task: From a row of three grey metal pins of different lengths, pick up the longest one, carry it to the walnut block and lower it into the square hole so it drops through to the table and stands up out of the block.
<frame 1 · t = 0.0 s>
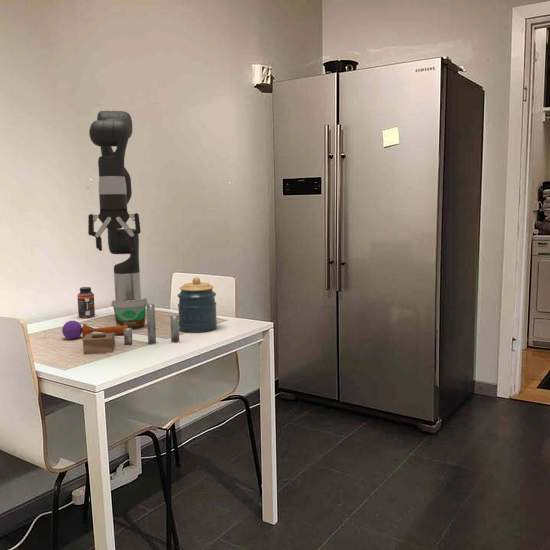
hand: (115, 250, 158), 29 cm above the table, tool pointing down, fingers open, 8 cm apart
food container: (132, 329, 189), on the table
short pin: (128, 344, 167), on the table
medium pin: (175, 341, 170), on the table
hole block: (99, 349, 162), on the table
supplement bottle: (86, 317, 209), on the table
canister: (198, 329, 187), on the table
long pin: (152, 342, 169), on the table
kendama: (95, 338, 178), on the table
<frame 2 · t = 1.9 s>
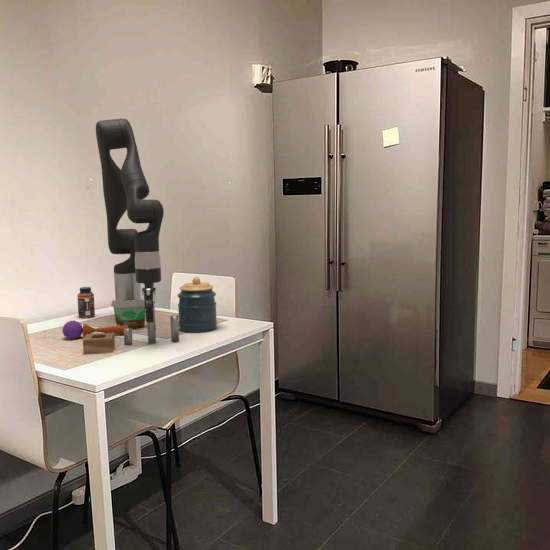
hand: (150, 319, 167), 7 cm above the table, tool pointing down, fingers open, 8 cm apart
nothing on the table moved.
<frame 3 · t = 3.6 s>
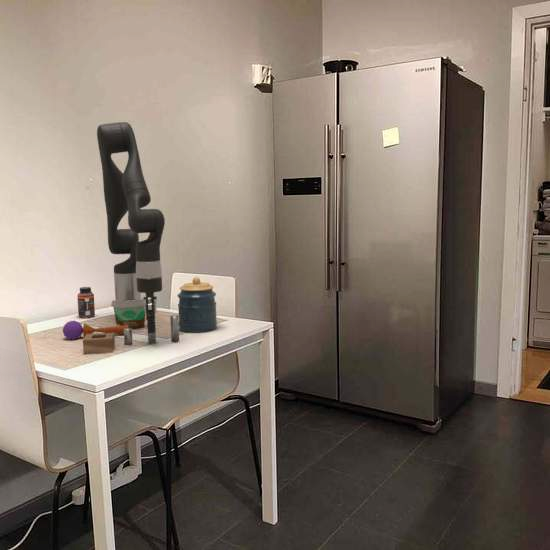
hand: (151, 331, 168), 4 cm above the table, tool pointing down, fingers closed on long pin, 2 cm apart
long pin: (152, 342, 169), on the table, touching gripper
everything else where it was.
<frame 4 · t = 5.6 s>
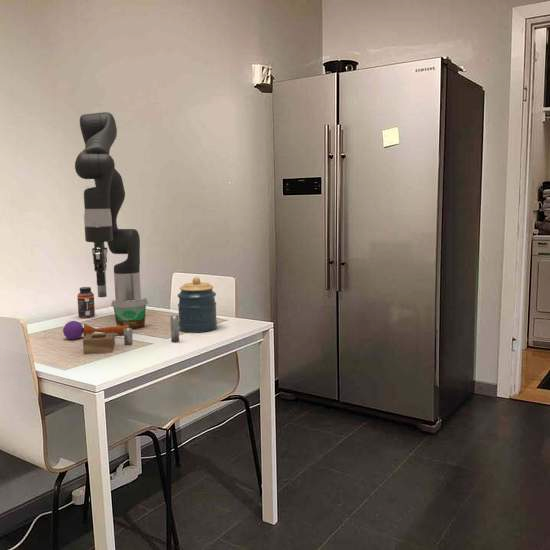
hand: (101, 284, 160), 19 cm above the table, tool pointing down, fingers closed on long pin, 2 cm apart
long pin: (102, 296, 160), point 16 cm above the table, touching gripper
everything else where it was.
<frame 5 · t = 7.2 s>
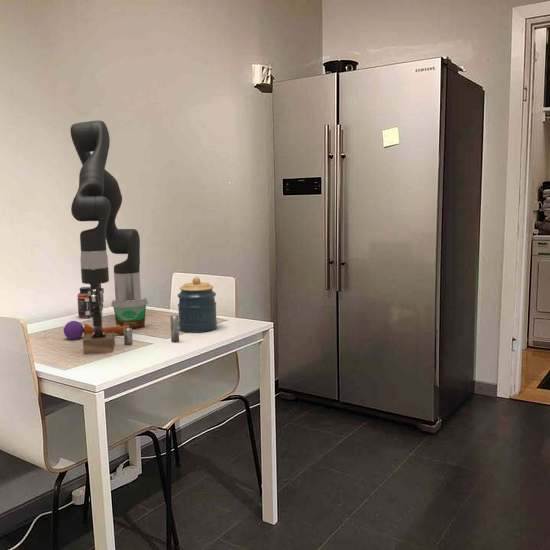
hand: (97, 324, 161), 7 cm above the table, tool pointing down, fingers closed on long pin, 2 cm apart
long pin: (98, 336, 161), point 4 cm above the table, touching gripper
everything else where it was.
when the fingers open (6 cm above the table, at t = 8.1 s): long pin drops 2 cm, resting in hole block.
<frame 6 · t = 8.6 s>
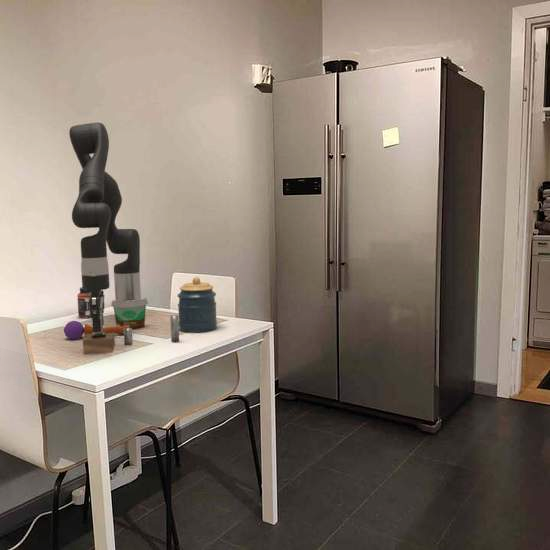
hand: (98, 328, 161), 6 cm above the table, tool pointing down, fingers open, 6 cm apart
long pin: (99, 349, 162), resting in hole block
everything else where it was.
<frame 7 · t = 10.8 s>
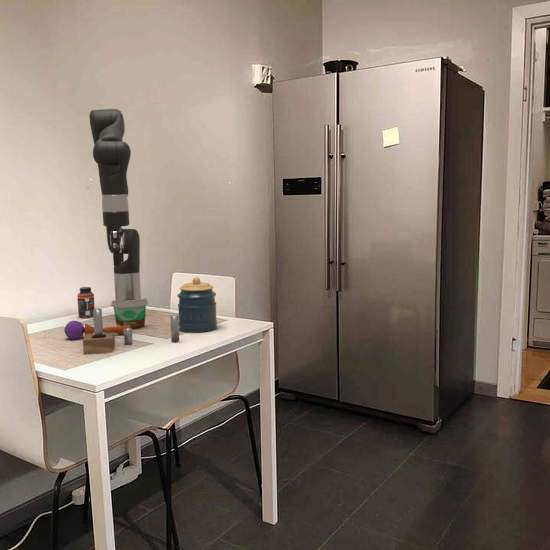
hand: (119, 264, 166), 24 cm above the table, tool pointing down, fingers open, 8 cm apart
nothing on the table moved.
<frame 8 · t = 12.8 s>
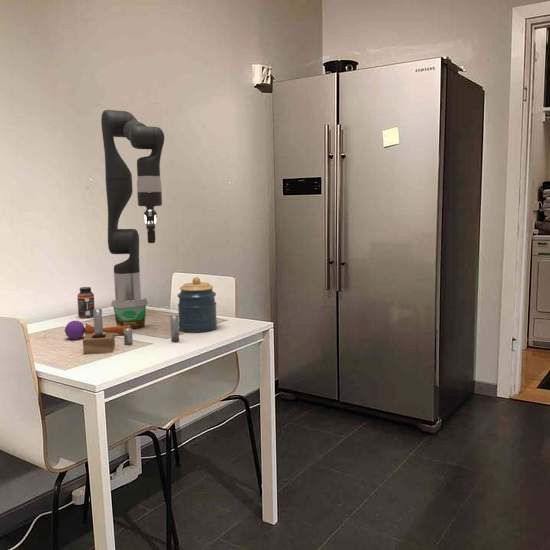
hand: (151, 242, 177), 30 cm above the table, tool pointing down, fingers open, 8 cm apart
nothing on the table moved.
at the end: long pin 0.1 cm off-centre on the hole block, point 0.0 cm above the hole block's base; long pin tilted 0°; the gripper is holding nothing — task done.
